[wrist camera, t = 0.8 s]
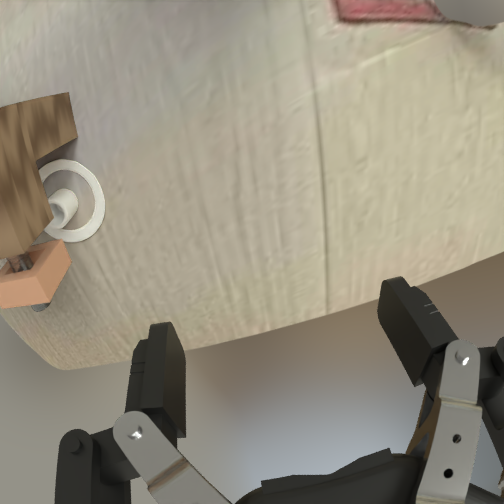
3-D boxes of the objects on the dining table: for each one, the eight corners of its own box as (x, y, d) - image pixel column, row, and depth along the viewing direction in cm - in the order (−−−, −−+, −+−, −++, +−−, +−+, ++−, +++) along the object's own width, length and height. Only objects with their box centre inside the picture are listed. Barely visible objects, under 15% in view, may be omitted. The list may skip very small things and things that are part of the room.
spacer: (16, 249, 29) (-12, 285, 23) (62, 238, 29) (35, 276, 23) (26, 271, 30) (2, 308, 25) (71, 262, 31) (49, 302, 25)
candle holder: (69, 139, 33) (55, 147, 30) (123, 208, 39) (115, 223, 36) (18, 194, 35) (3, 206, 32) (68, 253, 41) (58, 270, 38)
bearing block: (14, 115, 29) (-79, 153, 14) (68, 92, 30) (-21, 113, 14) (36, 196, 36) (-36, 268, 20) (89, 180, 36) (24, 253, 21)
